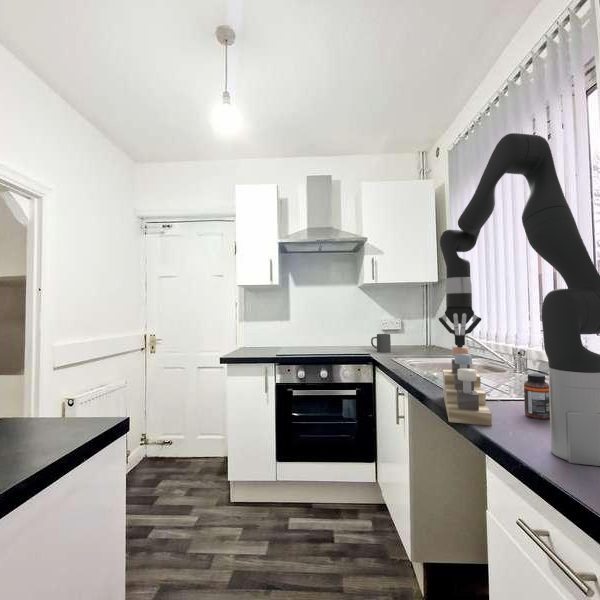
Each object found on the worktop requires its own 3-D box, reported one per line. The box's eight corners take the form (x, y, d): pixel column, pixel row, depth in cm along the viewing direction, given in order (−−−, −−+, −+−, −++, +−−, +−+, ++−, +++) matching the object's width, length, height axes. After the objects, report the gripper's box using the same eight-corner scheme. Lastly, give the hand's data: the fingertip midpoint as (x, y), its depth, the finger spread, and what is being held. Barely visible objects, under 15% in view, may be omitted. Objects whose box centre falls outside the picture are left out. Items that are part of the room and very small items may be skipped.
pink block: (469, 370, 112) (468, 348, 112) (453, 369, 114) (452, 348, 114) (467, 367, 116) (467, 346, 117) (452, 367, 118) (451, 346, 118)
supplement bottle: (526, 412, 103) (525, 371, 103) (551, 415, 99) (550, 374, 99) (523, 417, 98) (521, 374, 98) (549, 421, 94) (548, 377, 95)
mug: (387, 351, 252) (386, 333, 253) (393, 352, 243) (392, 334, 244) (368, 351, 250) (368, 334, 250) (374, 353, 241) (373, 335, 241)
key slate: (473, 379, 103) (472, 355, 103) (455, 378, 105) (455, 355, 105) (471, 376, 107) (470, 353, 108) (454, 375, 109) (454, 353, 109)
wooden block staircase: (491, 425, 91) (490, 373, 92) (448, 422, 95) (447, 371, 95) (476, 399, 118) (475, 358, 118) (443, 396, 121) (442, 357, 121)
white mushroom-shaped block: (478, 397, 94) (477, 371, 95) (458, 396, 96) (458, 370, 96) (475, 393, 99) (475, 368, 99) (457, 392, 100) (456, 368, 100)
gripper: (436, 292, 114) (438, 347, 114) (483, 291, 110) (485, 348, 110) (436, 293, 121) (437, 345, 121) (479, 292, 117) (481, 346, 117)
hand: (460, 346), depth 115 cm, fingers closed
